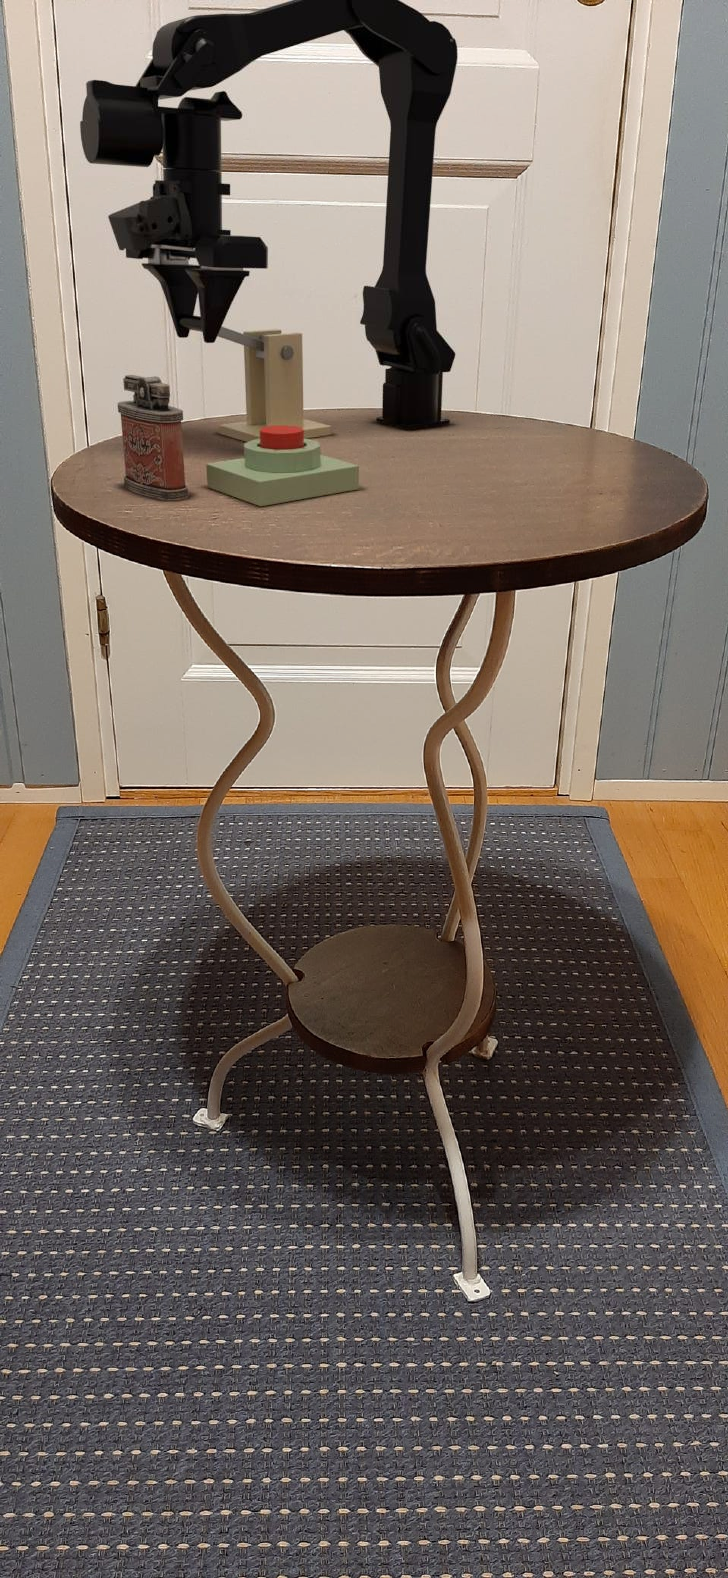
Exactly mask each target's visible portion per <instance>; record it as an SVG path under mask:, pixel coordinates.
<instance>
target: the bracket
mask: <svg viewBox="0 0 728 1578" xmlns="http://www.w3.org/2000/svg"><path fill="white" fill-rule="evenodd" d="M242 332H243V333H242V334H244V335H247V336H250V337H253V338H256V339H259V337H260V334H261V335H264V360H263V359H260V358H257V357H255V354H256V349H253V348H250V347H247V346H244V345H243V359H244V360H243V362H244V364H243V365H244V385H245V407H246V408H245V411H246V412H245V413H246V420H245V421H237V422H231V423H222V424H218V434H219V435H223V436H226V437H228V438H232V439H236V440H239V441H243V442H245V443H247V442H249V441H252V440H256V439H260V429H261V428H263V427H267V426H276V425H288V426H297V427H301V428H303V430H304V439H313V438H321V437H327V436H332V425H330V424H325V423H321V422H318V421H314V420H310V419H306V418H304V365H303V364H304V361H303V360H304V359H303V358H304V357H303V333H301V332H288V333H282V329H278V328H273V329H260V330H247V331H242Z"/></svg>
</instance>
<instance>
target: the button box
mask: <svg viewBox="0 0 728 1578" xmlns="http://www.w3.org/2000/svg"><path fill="white" fill-rule="evenodd" d="M243 454H244V455H243V456H244V457H242V458H236V459H235V458H234V459H229V460H222V461H213V462H207V463H206V464H205V466H206V484H207V485H206V486H207V488H208V489H211V490H214V491H217V492H219V493H223V494H225V495H229V496H231V497H233V498H237V499H239V500H241V501H245V502H246V503H249V504H253V505H256V506H258V507H264V506H265V507H266V506H271V505H277V504H283V503H289V502H295V501H300V500H305V499H306V500H307V499H311V498H317V497H323V496H328V495H334V494H335V495H336V494H340V493H346V492H351V491H357V490H359V489H360V465H358V464H355V463H351V462H348V461H344V460H340V459H338V458H334V457H331V456H327V455H323V454H321V445H320V443H319V441H316V440H313V439H310V438H306V439H304V447H303V448H299V449H292V450H274V449H264V448H261V447H260V439H256V440H252V441H249V442H245V443H243Z"/></svg>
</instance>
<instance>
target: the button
mask: <svg viewBox="0 0 728 1578" xmlns="http://www.w3.org/2000/svg"><path fill="white" fill-rule="evenodd" d="M260 447H261V448H264V449H274V450H292V449H299V448H303V447H304V430H303V428H301V427H297V426H288V425H276V426H267V427H263V428H261V429H260Z"/></svg>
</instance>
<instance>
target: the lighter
mask: <svg viewBox="0 0 728 1578" xmlns="http://www.w3.org/2000/svg"><path fill="white" fill-rule="evenodd" d="M122 380H123V391H128V392H131V393H134V394H133V395H132V398H133V400H123V401H119V402H117V413H119V414H120V422H121V435H122V447H123V457H124V458H123V459H124V469H125V470H124V471H125V475H124V476H123V482H124V483H123V484H124V488H125V489H128V490H129V491H130V492H133V493H137V494H139V495H142V496H146V497H149V498H154V499H157V500H163V501H179V500H185V499H187V498H188V497H189V491H188V490H189V488H188V485H187V484H186V477H185V476H186V475H185V460H184V443H183V429H182V426H183V425H182V421H183V420H184V410H183V409H181V408H177V407H174V406H171V405H169V404H170V402H171V401H170V397H171V388H170V387H171V386H170V384H168V383H163V382H162V380H161V378H160V377H159V376H156V375H155V376H147V377H145V376H141V375H136V374H125V375H124V377H123V378H122Z"/></svg>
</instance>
